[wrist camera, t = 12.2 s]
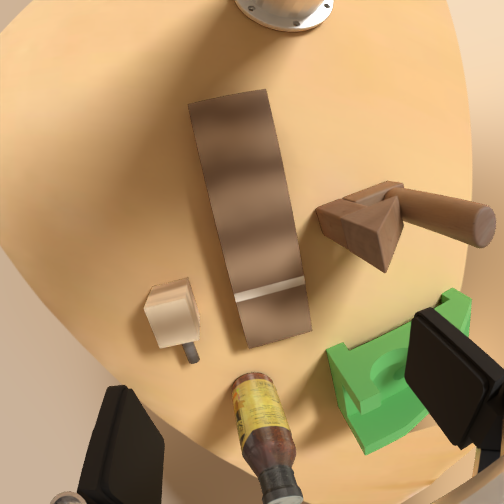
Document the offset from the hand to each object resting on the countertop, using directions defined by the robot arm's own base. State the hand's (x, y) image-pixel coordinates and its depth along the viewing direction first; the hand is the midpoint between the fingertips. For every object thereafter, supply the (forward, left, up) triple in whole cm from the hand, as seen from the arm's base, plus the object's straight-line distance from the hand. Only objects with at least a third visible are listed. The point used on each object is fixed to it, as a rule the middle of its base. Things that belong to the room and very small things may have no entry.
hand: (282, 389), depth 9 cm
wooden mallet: (+1, +16, -27) cm, 31 cm away
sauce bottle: (+23, -2, -27) cm, 36 cm away
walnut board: (0, +3, -27) cm, 27 cm away
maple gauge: (+10, -8, -27) cm, 29 cm away
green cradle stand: (+26, +22, -27) cm, 43 cm away
